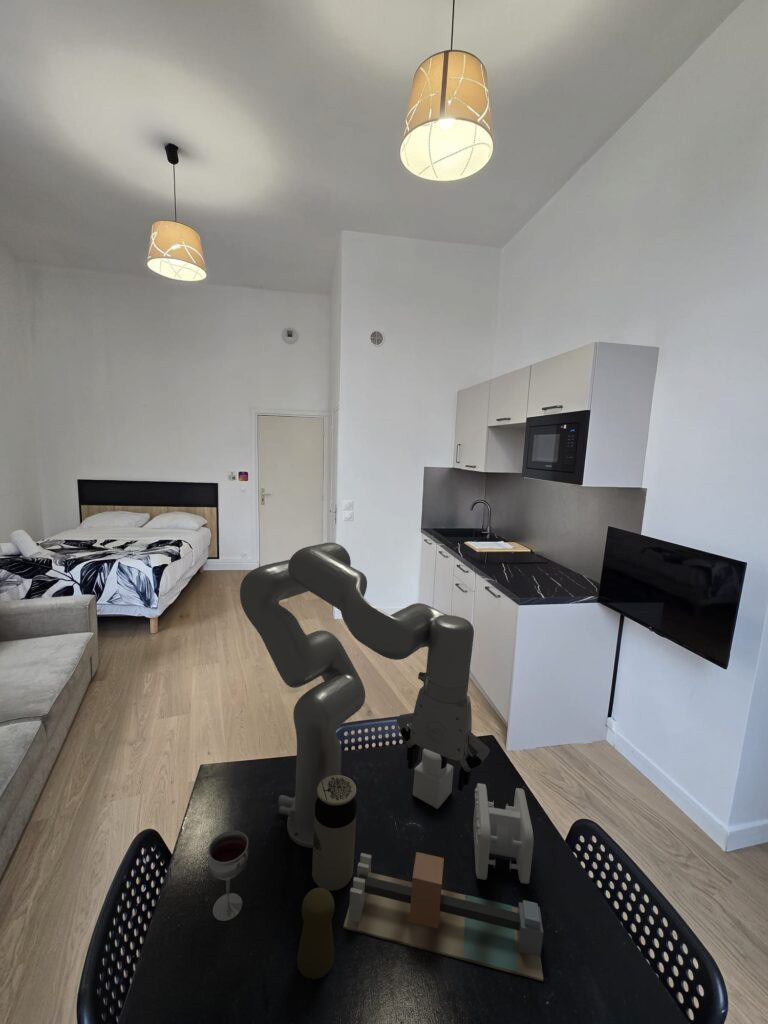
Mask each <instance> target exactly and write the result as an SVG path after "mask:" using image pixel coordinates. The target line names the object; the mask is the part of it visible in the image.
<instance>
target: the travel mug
mask: <svg viewBox="0 0 768 1024" xmlns="http://www.w3.org/2000/svg"><path fill="white" fill-rule="evenodd" d="M317 794H318V798H317V799H316V802H315V817H314V840H313V848H312V863H311V864H312V865H311V866H312V867H311V876H312V880H313V881H314V882H315V884H316V885H317V886H318V888H319V887H320V888H325V889H327V890H328V891H337V890H340V889H342V888H344V887H346V886H347V885H348V884H349V883H350V881H351V879H352V877H353V875H354V862H355V861H354V859H355V847H356V846H355V843H356V828H357V827H356V826H357V807H358V801H357V799H356V794H357V786H356V784H355V782H354V780H352V779H351V778H350V777H348V776H345V775H341V774H340V775H333V776H329V777H326V778H325V779H323V780H322V781H321V782H320V783H319V785H318V787H317Z"/></svg>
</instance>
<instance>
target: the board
mask: <svg viewBox="0 0 768 1024" xmlns="http://www.w3.org/2000/svg"><path fill="white" fill-rule="evenodd" d="M370 877H371V878H375V879H379V880H383V881H387V882H392V883H396V884H400V885H404V886H408V887H412V881H407V880H403V879H399V878H396V877H395V878H394V877H391V876H388V875H387V876H386V875H383V874H379V873H374V872H371V876H370ZM441 895H445V896H450V897H454V898H458V899H462V900H466V901H470V902H474V903H479V904H483V905H487V906H491V907H495V908H499V909H503V910H508V911H512V912H516V913H518V906H512V905H510V904H506V903H502V902H497V901H494V900H489V899H485V898H481V897H476V896H472V895H468V894H462V893H457V892H453V891H449V890H446V889H442V888H441ZM410 905H411V904H409V903H405V902H401V901H397V900H393V899H389V898H385V897H381V896H377V895H373V894H369V893H367V894H366V898H365V902H364V906H363V910H362V914H361V918H360V922H356V921H352V920H349V919H348V916H349V907H348V909H347V913H346V917H345V919H344V923H343V929H345V930H348V931H353V932H356V933H361V934H362V935H363V934H364V935H367V936H371V937H375V938H379V939H382V940H387V941H389V942H395V943H397V944H400V945H401V944H402V945H405V946H409V947H413V948H416V949H420V950H424V951H428V952H432V953H435V954H439V955H443V956H446V957H450V958H453V959H458V960H462V961H465V962H469V963H473V964H477V965H481V966H483V967H487V968H492V969H495V970H499V971H503V972H506V973H509V974H514V975H518V976H522V977H525V978H527V979H528V978H530V979H533V980H536V981H541V982H544V973H543V966H542V958H541V957H539V956H535V955H531V954H527V953H523V952H519V950H518V938H517V930H514V929H510V928H506V927H502V926H498V925H494V924H490V923H486V922H482V921H478V920H474V919H470V918H466V917H462V916H458V915H453V914H449V913H445V912H441V911H439V923H438V929H437V928H433V927H429V926H425V925H421V924H417V923H413V922H409V918H410Z"/></svg>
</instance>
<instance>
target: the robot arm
mask: <svg viewBox="0 0 768 1024" xmlns="http://www.w3.org/2000/svg"><path fill="white" fill-rule="evenodd" d="M351 564H352V562H351V556H350V553H349V552H348V551H347V549H346V548H345V547H344V546H342V545H341V544H339V543H336V542H323V543H320V544H315V545H309V546H306V547H302V548H300V549H298V550H297V551H296V552H294V553H293V554H292V555H291V557H290V559H285V560H282V561H277V562H272V563H269V564H263V565H261V566H259V567H257V568H254V569H252V570H250V571H249V572H248V573H247V574H246V575H245V576H244V577H243V579H242V581H241V584H240V588H239V598H240V599H239V600H240V604H241V607H242V610H243V612H244V615H246V617H247V619H248V620H249V623H251V624H252V626H253V628H254V629H255V630H256V632H257V633H258V634H259V636H260V638H261V640H262V642H263V644H264V647H265V648H266V649H267V652H268V653H269V656H270V658H271V660H272V662H273V664H274V666H275V668H276V669H277V673H278V674H279V676H280V677H281V680H282V681H283V682H284V684H285V685H286V686H287V687H290V688H294V689H295V688H300V687H302V686H305V685H306V684H309V683H311V682H313V681H314V680H316V679H318V678H319V677H321V678H322V680H323V681H322V682H320V683H318V684H317V685H315V686H313V687H312V688H310V689H309V690H307V691H306V692H305V693H303V694H302V695H301V696H300V697H299V698H298V700H297V701H296V703H295V705H294V708H293V713H292V714H293V723H294V729H295V733H296V734H295V736H296V765H295V768H296V769H295V772H296V773H295V774H296V775H295V792H294V793H295V794H294V795H295V796H293V797H289V796H288V795H283V794H281V795H279V797H278V801H277V805H279V808H278V813H279V814H283V815H287V817H288V818H287V823H286V829H287V833H288V836H289V838H290V839H291V840H292V842H294V843H295V844H297V845H299V846H301V847H304V848H306V849H307V848H308V849H313V840H314V817H315V802H316V799H317V798H318V794H317V787H318V785H319V783H320V782H321V781H322V780H323V779H325V778H326V777H329V776H333V775H341V770H342V769H341V768H342V744H341V741H340V740H339V738H338V736H337V730H338V729H339V727H341V725H343V724H345V722H346V721H347V720H348V719H350V718H351V717H352V716H354V715H355V714H356V713H358V712H359V711H360V710H361V708H362V707H363V706H364V704H365V701H366V689H365V686H364V683H363V681H362V679H361V677H360V675H359V673H358V671H357V669H356V668H355V666H354V664H353V662H352V660H351V658H350V657H349V655H348V653H347V651H346V649H345V647H344V646H343V644H342V642H341V641H340V639H338V637H337V636H335V635H334V634H333V633H332V632H329V631H327V630H322V629H321V630H316V631H313V632H311V633H309V634H307V633H305V631H304V630H303V628H302V627H301V625H300V623H299V620H298V619H297V618H296V616H295V615H294V614H293V613H292V612H291V611H289V610H288V609H287V608H285V606H284V607H283V606H282V605H281V604H280V603H279V602H280V601H283V600H287V599H290V598H292V597H296V596H298V595H302V594H304V593H307V592H310V593H311V594H313V595H314V596H316V597H318V598H320V599H321V600H323V601H325V602H326V603H327V604H329V605H331V606H333V607H334V608H336V609H337V610H339V611H340V614H341V617H342V620H343V623H344V625H345V626H346V628H347V629H348V631H349V632H350V634H351V635H352V636H353V637H354V639H355V640H357V641H358V642H360V643H361V644H362V645H364V646H365V647H367V648H369V650H371V651H373V652H375V653H377V655H380V656H382V657H383V658H387V659H390V660H394V661H399V660H400V661H402V660H404V659H406V658H408V657H410V656H412V655H413V654H414V653H416V652H417V651H419V650H420V649H422V648H425V647H427V657H426V658H427V660H426V669H425V672H422V671H420V672H418V676H417V679H418V680H419V681H421V682H423V685H422V687H420V688H419V691H418V693H417V698H416V700H415V705H414V710H413V712H409V713H403V714H399V715H398V716H397V718H396V722H397V726H398V728H399V730H400V731H399V733H400V735H401V737H402V738H403V740H404V743H405V744H404V745H405V746H406V747H407V750H406V760H407V769H408V770H412V769H413V768H414V766H415V765H416V763H418V761H419V754H420V752H419V751H420V748H422V749H423V748H425V749H427V750H430V751H432V752H434V753H437V754H439V755H442V756H444V757H447V758H448V759H450V760H453V761H456V762H457V761H458V762H459V763H460V765H461V767H460V770H459V775H458V776H459V777H458V785H457V790H458V791H460V792H463V790H464V789H465V786H469V784H470V782H471V774H472V769H474V768H476V767H479V766H480V765H481V764H482V762H484V760H485V759H486V758H487V757H488V756H489V753H490V748H489V747H488V745H486V744H485V743H484V742H483V741H482V740H481V739H480V738H478V737H477V736H476V735H475V734H474V733H473V732H472V727H473V726H472V724H473V721H472V720H473V718H472V713H473V712H472V702H471V701H472V700H471V697H470V696H469V695H468V692H469V691H468V690H469V682H470V681H469V679H470V673H471V671H470V670H471V665H472V664H471V663H472V662H471V661H472V653H473V646H474V636H475V635H474V634H475V630H474V625H473V624H472V623H471V622H470V621H469V620H468V619H466V618H464V617H461V616H457V615H452V614H451V615H450V614H446V613H444V612H443V611H441V610H438V609H437V608H434V607H433V606H430V605H428V604H425V603H421V602H419V603H418V602H416V603H413V604H410V605H407V606H406V607H404V608H402V609H400V610H398V611H395V612H394V613H392V614H389V613H387V612H384V611H383V610H381V609H380V608H378V607H376V606H374V605H373V604H372V603H370V602H369V601H368V600H367V599H366V598H365V595H366V592H367V588H368V580H367V576H366V575H365V574H364V573H363V572H362V571H360V570H357V569H356V568H354V567H352V566H351ZM408 724H411V726H409V725H408ZM470 746H471V747H472V748H473V749H474V750H475V751H476V752H477V753H475V754H474V755H473V753H471V751H470V748H469V747H470Z"/></svg>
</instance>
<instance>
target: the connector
mask: <svg viewBox="0 0 768 1024" xmlns="http://www.w3.org/2000/svg"><path fill="white" fill-rule="evenodd" d="M517 908H518V913H519V917H520V928H519V931H518V930H517V938H518V950H519V952H523V953H527V954H531V955H535V956H539V957H541V956H542V947H543V939H544V929H543V928H544V927H543V923H542V922H543V921H542V915H541V908H540V906H538V902H533V901H529V900H526V899H525V900H524V899H523V900H522V902H520V901H519V902H518V906H517Z"/></svg>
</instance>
